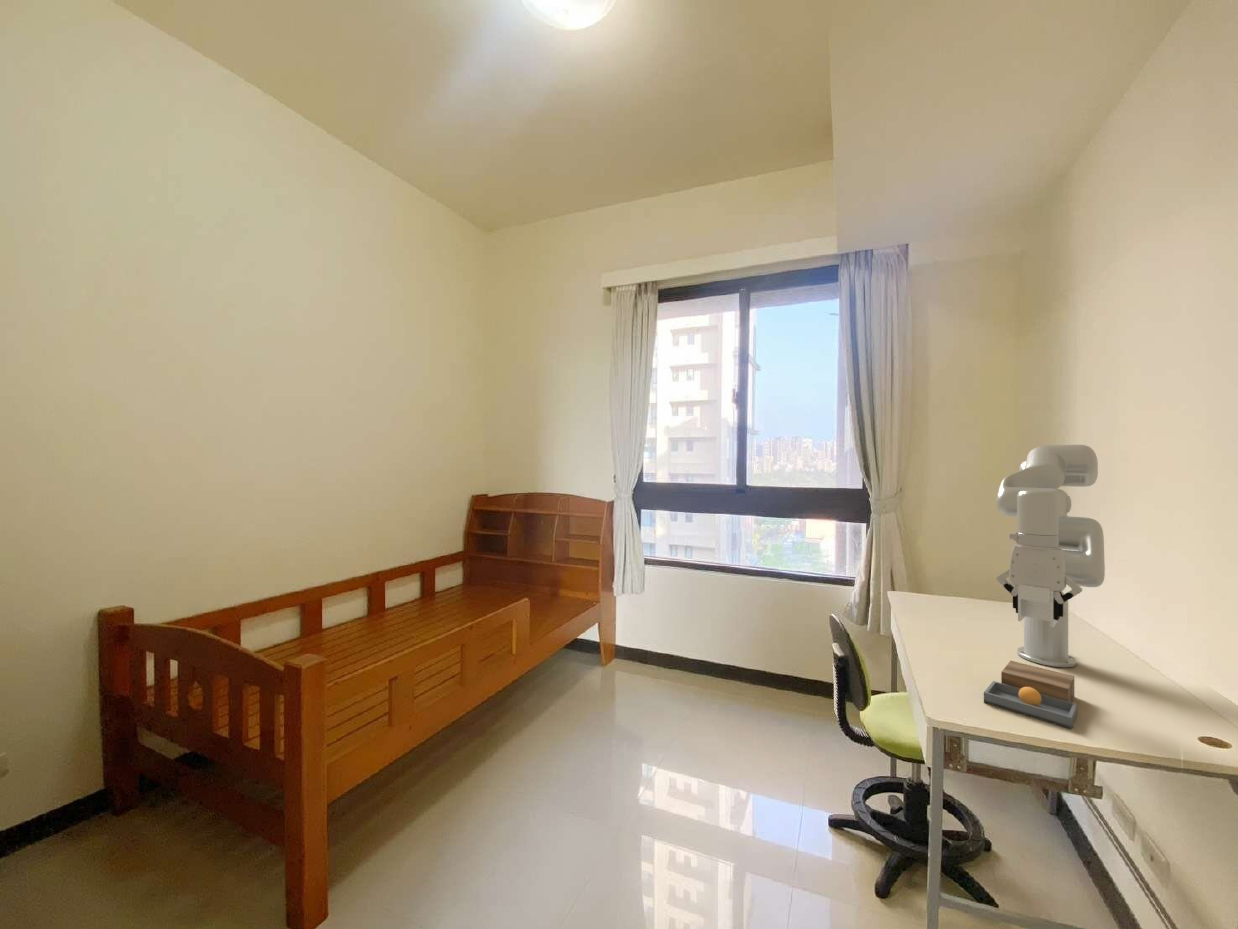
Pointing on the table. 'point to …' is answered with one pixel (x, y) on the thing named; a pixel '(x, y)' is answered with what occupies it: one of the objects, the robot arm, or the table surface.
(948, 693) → the table surface
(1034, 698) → the ball
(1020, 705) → the tray
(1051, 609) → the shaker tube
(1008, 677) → the stand
